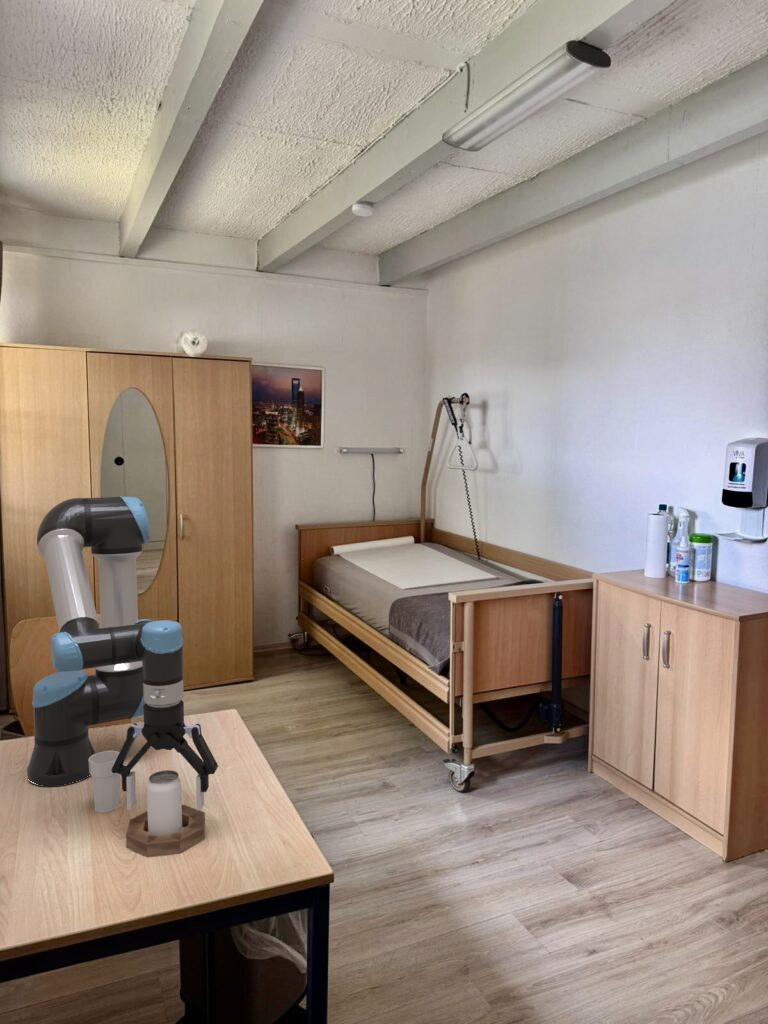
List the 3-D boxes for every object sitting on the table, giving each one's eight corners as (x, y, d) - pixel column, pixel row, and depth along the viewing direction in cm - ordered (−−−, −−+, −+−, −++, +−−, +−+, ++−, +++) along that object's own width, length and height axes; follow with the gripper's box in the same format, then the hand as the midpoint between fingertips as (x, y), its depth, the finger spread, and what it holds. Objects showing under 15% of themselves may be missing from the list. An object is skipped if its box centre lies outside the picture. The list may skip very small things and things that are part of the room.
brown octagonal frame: (112, 841, 143) (111, 828, 143) (170, 810, 155) (170, 799, 155) (162, 863, 135) (162, 850, 135) (220, 830, 147) (219, 818, 147)
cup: (129, 806, 157) (127, 756, 156) (99, 817, 152) (97, 766, 151) (114, 796, 161) (112, 748, 160) (84, 807, 157) (83, 757, 156)
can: (152, 827, 148) (150, 769, 147) (185, 826, 149) (183, 768, 148) (144, 844, 142) (142, 784, 141) (178, 843, 142) (177, 783, 141)
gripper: (91, 707, 139) (95, 815, 141) (223, 708, 139) (224, 816, 141) (107, 694, 147) (110, 797, 149) (231, 695, 146) (233, 798, 148)
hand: (166, 806), depth 145 cm, fingers open, 13 cm apart
